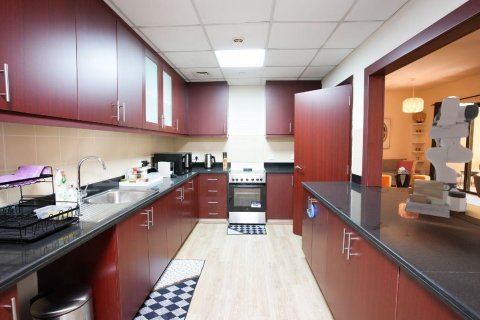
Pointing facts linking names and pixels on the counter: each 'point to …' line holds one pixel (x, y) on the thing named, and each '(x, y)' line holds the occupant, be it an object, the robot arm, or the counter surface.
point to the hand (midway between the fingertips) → (446, 145)
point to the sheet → (429, 189)
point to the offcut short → (438, 203)
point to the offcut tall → (417, 198)
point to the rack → (428, 208)
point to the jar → (456, 201)
